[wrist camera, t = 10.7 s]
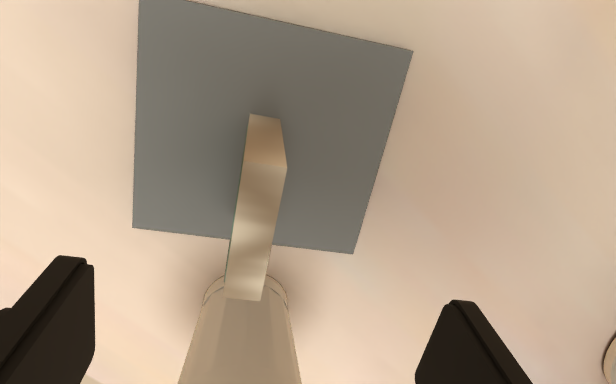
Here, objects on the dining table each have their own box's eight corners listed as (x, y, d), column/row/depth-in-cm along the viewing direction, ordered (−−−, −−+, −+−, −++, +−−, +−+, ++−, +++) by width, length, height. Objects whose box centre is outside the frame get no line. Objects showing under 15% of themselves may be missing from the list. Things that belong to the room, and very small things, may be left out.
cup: (199, 253, 27) (157, 413, 17) (309, 270, 29) (336, 425, 18) (185, 338, 30) (142, 519, 20) (285, 349, 32) (296, 522, 21)
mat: (409, 50, 23) (413, 51, 22) (351, 249, 28) (352, 254, 28) (142, -10, 20) (139, -10, 20) (135, 223, 26) (132, 227, 25)
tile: (287, 167, 16) (260, 301, 19) (280, 119, 23) (261, 220, 26) (242, 160, 16) (221, 297, 18) (249, 113, 23) (233, 217, 26)
